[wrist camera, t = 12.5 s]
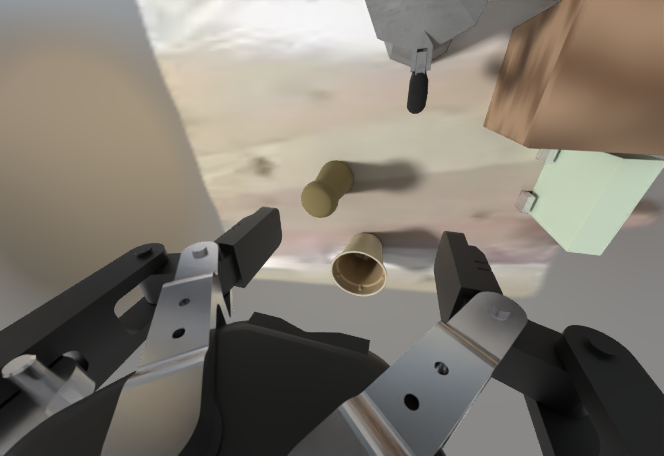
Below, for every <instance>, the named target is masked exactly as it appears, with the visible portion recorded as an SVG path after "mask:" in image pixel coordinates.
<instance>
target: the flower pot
mask: <svg viewBox="0 0 664 456" xmlns="http://www.w3.org/2000/svg"><path fill="white" fill-rule="evenodd" d="M357 253H360V255H358V254H357ZM330 272H331V276H332V278H333V280H334V282H335V283H336V284H337V285H338V286H339V287H340V288H341V289H343V290H344V291H346V292H348V293H351V294H353V295H357V296H370V295H374V294H376V293H378V292H380V291H381V290H382V289H383V288H384V287H385V285H386V282H387V272H386V269H385V267H384V265H383V254H382V244H381V242H380V240H379V239H378V238H377V237H376V236H374V235H372V234H366V233H360V234H357V235H355V236H354V237H353V238H352V239H351V241H350V243H349V244H348V245H347V247H346V248H345V250H344V251H343V252H342V253H340V254H339V255H337V256H336V257H335V258H334V260H333V261H332V263H331V267H330Z"/></svg>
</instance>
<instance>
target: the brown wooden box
mask: <svg viewBox="0 0 664 456" xmlns="http://www.w3.org/2000/svg"><path fill="white" fill-rule="evenodd" d="M484 127H486V128H488V129H490V130H492V131H494V132H496V133H498V134H500V135H503V136H505V137H507V138H509V139H511V140H513V141H515V142H517V143H519V144H521V145H523V146H525V147H527V148H535V149H554V150H573V151H592V152H611V153H630V154H649V155H651V154H652V155H664V0H563V1H561V2H559V3H557V4H556V5H554V6H552V7H550V8H549V9H547V10H545V11H544V12H542V13H540V14H538V15H537V16H535V17H533V18H531V19H530V20H528V21H526V22H524V23H523V24H521V25H519V26H517V27H516V28H514V29H513V31H512V35H511V38H510V41H509V44H508V48H507V51H506V54H505V57H504V61H503V64H502V67H501V70H500V74H499V77H498V80H497V83H496V87H495V90H494V93H493V96H492V100H491V103H490V106H489V109H488V113H487V116H486V119H485V122H484Z"/></svg>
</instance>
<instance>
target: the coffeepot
mask: <svg viewBox="0 0 664 456" xmlns="http://www.w3.org/2000/svg"><path fill="white" fill-rule="evenodd" d="M365 2H366V5H367V8H368V11H369V14H370V17H371V20H372V23H373V26H374V29H375V32H376V36H377V38H378V39H380V40H383V41H384V42H385V45H386V48H387V52H388V55H389V58H390V59H392V60H395V61H397V62H400V63H402V64H405V65H407V66H410V67H411V72H412V76H411V79H410V84H409V93H408V102H407V109H408V110H409V112H411V113H413V114H418V113H419V112H421V111H422V110H423V109H424V107H425V105H426V100H427V94H428V78H427V74H426V70H430V68H431V60H433V59H434V58H436V57H438V56H440V55H442V54H443V53H445V52H446V51H447V49H448V47H449V44H450V42H451V40H452V38H453V37H455V36H457V35H459V34H460V33H462V32H464V31H466V30H467V29H469V28H471V27H473V26H474V25H476V23H477V21H478V19H479V17H480V15H481V13H482V11H483V9H484V7H485V5H486V3H487V2H488V0H365Z"/></svg>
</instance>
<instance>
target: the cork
mask: <svg viewBox="0 0 664 456" xmlns="http://www.w3.org/2000/svg"><path fill="white" fill-rule="evenodd" d="M353 182H354V176H353V172H352V170H351V169H350V167H349V166H348V165H347V164H345V163H343V162H341V161H330V162H328V163H326V164H325V165H324V166H323V167H322V169H321V171H320V173H319V175H318V176H317V178H316V180H315V181H313V182H311V183H309V184H308V185H307V186H306V187H305V188H304V190H303V192H302V195H301V201H302V205H303V207H304V209H305V210H306V211H307V212H308V213H309V214H310V215H312V216H314V217H319V218H322V217H327V216H329V215H331V214H332V213H333V212H334V211H335V209H336V207H337V206H338V200H339V199H340V198H341V197H342V196H343V195H344V194H346V193H347V192H348V191H349V190H350V189H351V187H352V185H353Z"/></svg>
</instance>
